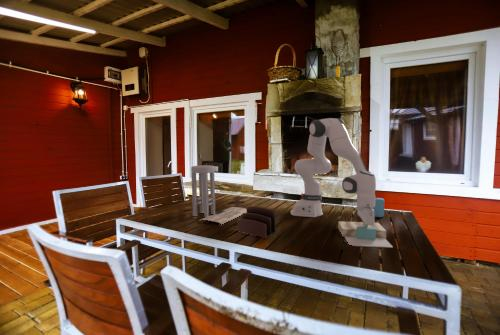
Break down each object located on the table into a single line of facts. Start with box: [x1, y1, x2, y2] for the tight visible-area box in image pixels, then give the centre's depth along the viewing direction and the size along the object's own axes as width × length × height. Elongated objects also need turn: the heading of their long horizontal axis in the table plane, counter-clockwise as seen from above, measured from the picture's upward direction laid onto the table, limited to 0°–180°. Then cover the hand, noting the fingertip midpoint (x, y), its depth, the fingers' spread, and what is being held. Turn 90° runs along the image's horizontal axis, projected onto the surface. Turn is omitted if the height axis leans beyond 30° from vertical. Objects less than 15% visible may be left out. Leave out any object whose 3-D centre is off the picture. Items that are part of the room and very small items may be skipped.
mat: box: [344, 236, 394, 249], centre depth 135 cm, size 20×12×1 cm, turn 80°
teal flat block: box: [356, 227, 376, 240], centre depth 138 cm, size 9×6×2 cm
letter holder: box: [236, 206, 276, 239], centre depth 151 cm, size 10×20×14 cm, turn 54°
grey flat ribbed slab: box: [198, 206, 247, 226], centre depth 185 cm, size 37×19×3 cm, turn 151°
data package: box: [372, 197, 385, 218], centre depth 182 cm, size 12×4×12 cm, turn 63°
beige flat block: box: [337, 220, 387, 239], centre depth 149 cm, size 22×14×4 cm, turn 80°
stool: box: [190, 164, 216, 218], centre depth 187 cm, size 16×16×35 cm
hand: (365, 228), depth 140 cm, fingers closed
